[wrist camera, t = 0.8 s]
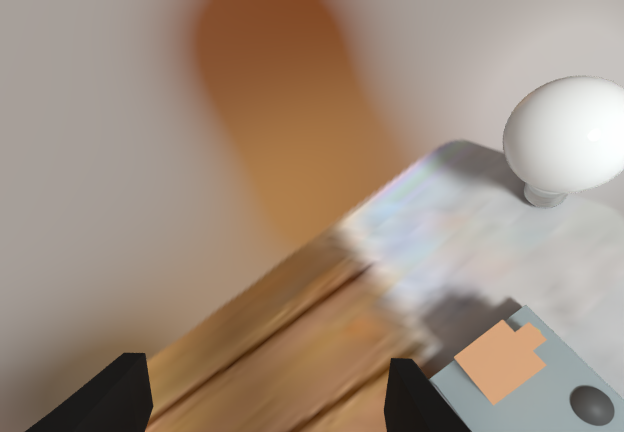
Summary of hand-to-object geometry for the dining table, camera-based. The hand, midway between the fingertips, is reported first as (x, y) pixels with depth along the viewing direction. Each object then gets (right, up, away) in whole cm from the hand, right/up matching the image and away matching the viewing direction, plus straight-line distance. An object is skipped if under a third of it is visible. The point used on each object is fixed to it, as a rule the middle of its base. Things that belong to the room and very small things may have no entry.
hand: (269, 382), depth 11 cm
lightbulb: (+19, +6, +16) cm, 26 cm away
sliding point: (+13, -4, +12) cm, 18 cm away
